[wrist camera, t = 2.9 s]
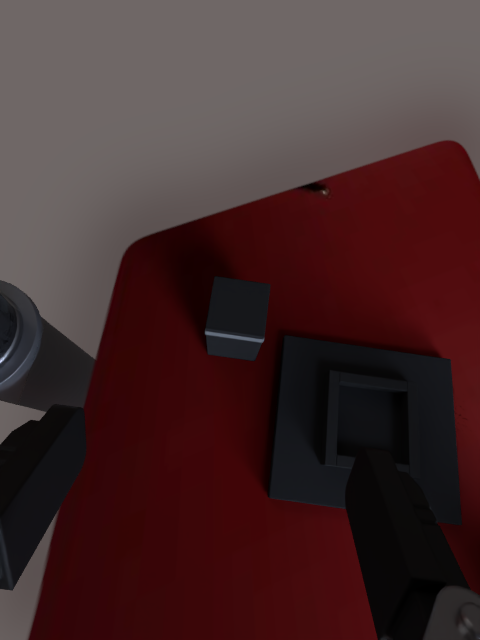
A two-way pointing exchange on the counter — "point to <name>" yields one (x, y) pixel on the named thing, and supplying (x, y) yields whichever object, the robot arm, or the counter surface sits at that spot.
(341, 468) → the base pad
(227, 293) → the pad block
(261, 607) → the counter surface
